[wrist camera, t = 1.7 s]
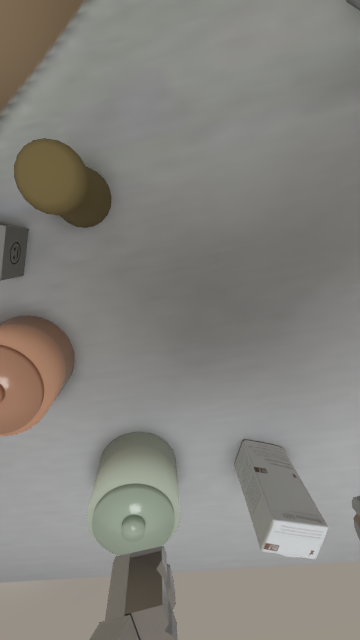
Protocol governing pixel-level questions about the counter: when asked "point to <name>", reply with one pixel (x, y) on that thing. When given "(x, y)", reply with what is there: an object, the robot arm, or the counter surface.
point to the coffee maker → (355, 3)
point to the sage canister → (135, 495)
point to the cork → (61, 183)
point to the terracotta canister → (31, 370)
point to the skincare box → (279, 502)
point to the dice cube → (12, 251)
